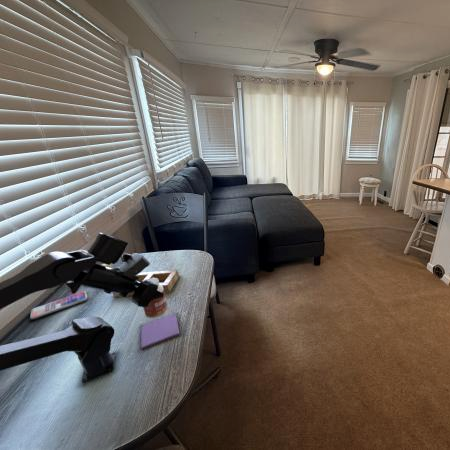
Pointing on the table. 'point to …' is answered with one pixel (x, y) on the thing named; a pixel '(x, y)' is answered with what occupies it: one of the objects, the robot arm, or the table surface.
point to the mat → (159, 330)
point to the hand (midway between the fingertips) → (157, 292)
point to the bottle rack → (169, 276)
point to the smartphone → (58, 305)
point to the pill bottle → (156, 303)
